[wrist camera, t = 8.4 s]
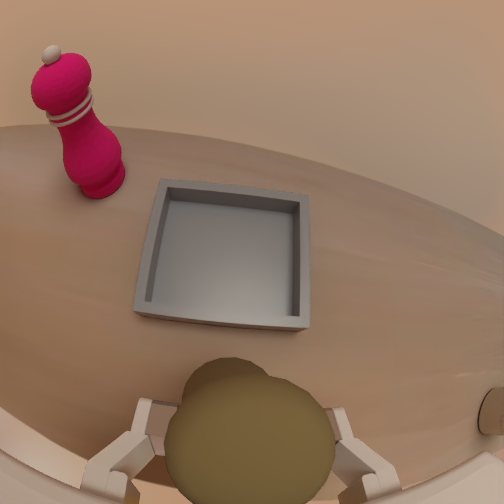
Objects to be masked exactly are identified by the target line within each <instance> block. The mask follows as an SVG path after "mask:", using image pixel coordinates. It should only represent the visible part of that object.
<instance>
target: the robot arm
mask: <svg viewBox="0 0 504 504" xmlns="http://www.w3.org/2000/svg"><path fill="white" fill-rule="evenodd" d="M178 408H179V404H175V403H169V402H163V401H157V400H152V399H147V398H141V397H140V399H139V401H138V404H137V408H136V411H135V415H134V419H133V423H132V427H131V431H126V432H124V433H123V434H122V435H121V436H119V437H118V438H117V439H116V440H114V441H113V442H112V443H111V444H109V445H108V446H107V447H105V448H104V449H103V450H101V451H100V452H99V453H98V454H96V455H95V456H94V457H92V458H91V459H90V460H88V461H87V465H86V468H85V472H84V475H83V479H82V483H81V486H80V489H78V488H75V487H72V486H70V485H68V484H65V483H63V482H61V481H58V480H56V479H54V478H51V477H50V476H47V475H45V474H43V473H41V472H39V471H37V470H35V469H34V468H32V467H30V466H28V465H26V464H24V463H23V462H21V461H19V460H17V459H15V458H14V457H12V456H11V455H9V454H7V453H6V452H4V451H2V450H1V449H0V504H139V499H140V493H139V491H138V490H137V489H136V487H135V486H134V485H133V483H132V482H131V480H132V479H133V478H134V477H135V476H136V475H137V474H138V473H139V472H140V471H141V470H142V469H143V468H144V467H145V466H146V465H147V464H148V463H149V462H150V461H151V460H152V459H153V457H154V456H155V455H161V456H165V451H164V439H165V435H166V432H167V428H168V424H169V420H170V419H171V418H172V416H173V415H174V413H175V412H176V411H177V409H178ZM323 409H324V410H325V412H326V414H327V415H328V418H329V420H330V423H331V426H332V428H333V431H334V433H335V459H334V462H333V465H332V468H331V470H332V471H333V472H334V473H335V474H336V475H337V476H338V477H339V478H340V479H341V480H342V481H343V482H344V483H345V484H346V485H347V486H348V488H346V489H345V490H344V491H342V492H341V493H340V494H339V495H338V498H339V503H340V504H504V462H503V461H502V460H501V459H500V458H498V457H496V456H495V455H493V454H491V453H489V452H487V451H483V452H480V453H478V454H477V455H475V456H473V457H472V458H470V459H468V460H466V461H465V462H463V463H461V464H459V465H457V466H455V467H454V468H452V469H450V470H448V471H446V472H444V473H442V474H440V475H437V476H435V477H433V478H431V479H429V480H426V481H424V482H422V483H419V484H417V485H415V486H412V487H410V488H407V489H405V490H402V488H401V485H400V482H399V479H398V477H397V474H396V471H395V468H394V466H393V465H391V464H390V463H389V462H387V461H386V460H385V459H383V458H382V457H381V456H380V455H378V454H377V453H376V452H374V451H373V450H372V449H371V448H369V447H368V446H367V445H366V444H364V443H363V442H362V441H361V440H359V439H358V438H354V436H353V433H352V430H351V427H350V424H349V422H348V419H347V416H346V413H345V410H344V408H343V407H336V408H323Z"/></svg>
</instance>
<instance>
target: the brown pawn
mask: <svg viewBox="0 0 504 504" xmlns="http://www.w3.org/2000/svg"><path fill="white" fill-rule="evenodd" d="M182 401H183V402H182V404H181V405H180V407H179V408H178V409H177V411H176V412H175V413H174V415H173V416H172V418H171V419H170V420H169V424H168V428H167V432H166V435H165V439H164V451H165V459H166V466H167V470H168V473H169V474H170V476H171V478H172V480H173V482H174V483H175V485H176V487H177V488H178V490H179V492H180V493H181V494H183V495H184V496H185V497H186V498H187V499H188V500H189V501H190V502H192V503H193V504H305V503H307V502H308V501H310V500H311V499H312V498H313V497H314V496H315V495H316V494H317V492H318V491H319V490H320V488H321V487H322V486H323V485H324V483H325V482H326V480H327V478H328V476H329V473H330V470H331V468H332V465H333V462H334V459H335V433H334V431H333V428H332V426H331V423H330V420H329V418H328V415H327V414H326V412H325V410H324V409H323V408H322V407H321V406H320V405H319V403H318V402H317V401H316V400H315V399H314V398H313V397H312V396H311V394H310V393H309V392H307V391H305V390H304V389H302V388H300V387H298V386H296V385H295V384H293V383H291V382H289V381H288V380H285V379H281V378H276V377H271V376H268V374H267V373H266V372H265V371H264V370H263V369H262V368H260V367H259V366H257V365H255V364H254V363H252V362H251V361H247V360H243V359H240V358H236V357H234V358H219V359H216V360H213V361H210V362H207V363H205V364H204V365H202V366H201V367H200V368H198V369H197V370H196V371H194V373H193V374H192V375H191V377H190V378H189V380H188V381H187V382H186V385H185V389H184V392H183V396H182Z"/></svg>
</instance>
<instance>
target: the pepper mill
mask: <svg viewBox="0 0 504 504" xmlns="http://www.w3.org/2000/svg"><path fill="white" fill-rule="evenodd" d="M42 61H43V62H44V63H45V64H44V65H43V66H42V67H41V68H40V69H39V70H38V71H37V73H36V75H35V76H34V78H33V81H32V85H31V95H32V99H33V101H34V103H35V105H36V106H37V107H38V108H40V109H42V110H45V111H46V116H47V118H48V119H49V122H50V124H51V125H52V126H55V127H57V128H58V130H59V132H60V135H61V137H62V142H63V162H64V167H65V170H66V172H67V174H68V176H69V178H70V179H71V180H72V181H73V182H74V183H76V184H78V185H79V186H80V188H81V189H82V191H83V192H84V194H85V195H86V196H88V197H90V198H94V199H99V198H104V197H107V196H109V195H111V194H112V193H114V192H115V191H116V190H117V189H118V188H119V187H120V185H121V184H122V182H123V180H124V176H125V169H124V166H123V163H122V161H121V153H122V152H121V146H120V144H119V142H118V140H117V137H116V136H115V135H114V134H113V133H112V131H111V130H109V129H108V128H107V127H106V126H104V125H103V124H102V123H101V122H100V121H99V120H98V119H97V117H96V116H95V114H94V112H93V109H92V105H93V102H94V97H93V95H92V92H91V88H90V87H88V86H89V83H90V81H91V69H90V66H89V64H88V62H87V60H86V59H85V58H84V57H83V56H81V55H79V54H75V53H66V54H62V55H61V50H60V48H59V47H58V46H56V45H54V46H49V47H48V48H47V49H46V50H45V51H44V52H43V55H42Z"/></svg>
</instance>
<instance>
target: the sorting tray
mask: <svg viewBox="0 0 504 504" xmlns="http://www.w3.org/2000/svg"><path fill="white" fill-rule="evenodd" d="M132 311H134V312H136V313H137V314H139V315H141V316H144V317H150V318H157V319H164V320H172V321H179V322H187V323H196V324H205V325H214V326H225V327H236V328H248V329H262V330H279V331H302V330H305V329H308V328H310V225H309V199H308V195H302V194H296V193H289V192H282V191H275V190H268V189H260V188H252V187H244V186H236V185H227V184H217V183H207V182H197V181H185V180H173V179H160V182H159V186H158V189H157V193H156V197H155V200H154V204H153V208H152V212H151V216H150V221H149V225H148V229H147V234H146V238H145V243H144V247H143V252H142V257H141V262H140V268H139V273H138V279H137V284H136V290H135V296H134V303H133V310H132Z"/></svg>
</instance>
